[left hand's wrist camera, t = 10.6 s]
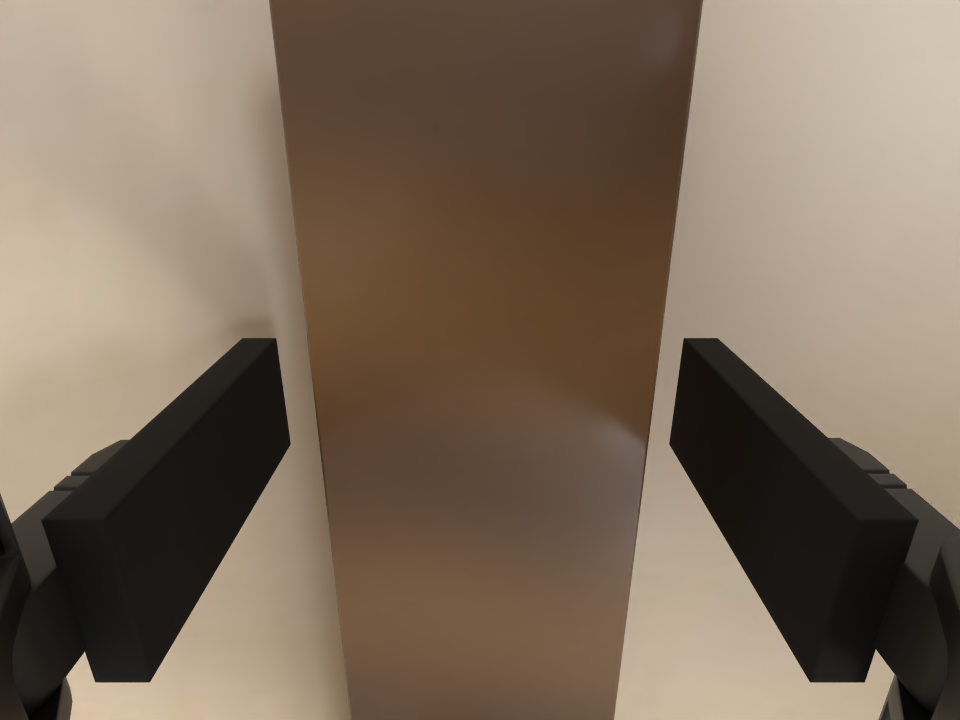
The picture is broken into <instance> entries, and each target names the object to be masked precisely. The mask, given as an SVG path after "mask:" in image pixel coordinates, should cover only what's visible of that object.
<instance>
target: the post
mask: <svg viewBox="0 0 960 720" xmlns="http://www.w3.org/2000/svg"><path fill="white" fill-rule="evenodd" d="M269 4H270V12H271V21H272V30H273V39H274V48H275V56H276V65H277V74H278V83H279V91H280V100H281V109H282V118H283V127H284V135H285V144H286V153H287V162H288V171H289V179H290V188H291V197H292V206H293V214H294V223H295V232H296V241H297V250H298V258H299V267H300V276H301V285H302V293H303V302H304V311H305V320H306V329H307V337H308V346H309V355H310V364H311V373H312V381H313V390H314V399H315V408H316V416H317V425H318V434H319V443H320V452H321V460H322V469H323V478H324V487H325V496H326V504H327V513H328V522H329V531H330V539H331V548H332V557H333V566H334V575H335V583H336V592H337V601H338V610H339V618H340V627H341V636H342V645H343V654H344V662H345V671H346V680H347V689H348V698H349V706H350V715H351V720H614V715H615V707H616V699H617V691H618V682H619V674H620V666H621V658H622V650H623V642H624V634H625V626H626V618H627V610H628V602H629V594H630V586H631V578H632V569H633V561H634V553H635V545H636V537H637V529H638V521H639V513H640V505H641V497H642V489H643V481H644V473H645V465H646V456H647V448H648V440H649V432H650V424H651V416H652V408H653V400H654V392H655V384H656V376H657V368H658V360H659V352H660V343H661V335H662V327H663V319H664V311H665V303H666V295H667V287H668V279H669V271H670V263H671V255H672V247H673V239H674V230H675V222H676V214H677V206H678V198H679V190H680V182H681V174H682V166H683V158H684V150H685V142H686V134H687V126H688V117H689V109H690V101H691V93H692V85H693V77H694V69H695V61H696V53H697V45H698V37H699V29H700V21H701V13H702V4H703V0H269Z"/></svg>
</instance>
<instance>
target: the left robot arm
mask: <svg viewBox="0 0 960 720" xmlns="http://www.w3.org/2000/svg"><path fill="white" fill-rule="evenodd" d="M290 444H291V443H290V436H289V429H288V421H287V414H286V407H285V399H284V392H283V385H282V378H281V370H280V363H279V356H278V348H277V341H276V338H242V339H241V340H240V341H239V342H238V343H237V344H236V345H235V346H233V347H232V348H231V349H230V350H229V351H228V352H227V353H226V354H225V355H223V356H222V357H221V358H220V359H219V360H218V361H217V362H216V363H215V364H213V365H212V366H211V367H210V368H209V369H208V370H207V371H206V372H205V373H204V374H202V375H201V376H200V377H199V378H198V379H197V380H196V381H195V382H194V383H192V384H191V385H190V386H189V387H188V388H187V389H186V390H185V391H184V392H182V393H181V394H180V395H179V396H178V397H177V398H176V399H175V400H174V401H173V402H171V403H170V404H169V405H168V406H167V407H166V408H165V409H164V410H163V411H161V412H160V413H159V414H158V415H157V416H156V417H155V418H154V419H153V420H151V421H150V422H149V423H148V424H147V425H146V426H145V427H144V428H143V429H141V430H140V431H139V432H138V433H137V434H136V435H135V436H134V437H133V438H132V439H130V440H120V441H118V442H116V443H114V444H112V445H110V446H108V447H106V448H104V449H102V450H100V451H98V452H97V453H95V454H93V455H91V456H90V457H89V458H88V459H86V460H85V461H84V462H83V463H82V464H81V465H79V466H78V467H77V468H76V469H75V470H74V471H72V472H71V476H67V477H65V478H64V479H63V480H62V481H61V482H60V483H58V484H57V485H56V486H55V487H54V491H49V492H48V493H47V494H45V495H44V496H43V497H42V498H41V499H40V500H38V501H37V502H36V503H35V504H34V505H33V506H31V507H30V508H29V509H28V510H27V511H26V512H24V513H23V514H22V515H21V516H20V517H18V518H17V519H16V520H15V521H14V522H13V523H11V522H10V519H9V517H8V514H7V511H6V508H5V505H4V503H3V500H2V497H1V494H0V720H70V715H71V707H72V696H71V690H70V687H69V684H68V681H67V678H66V676H67V674H68V673H69V672H70V670H71V669H72V668H73V666H74V665H75V664H76V662H77V661H78V660H79V658H80V657H81V656H82V654H83V653H84V652H85V653H86V656H87V659H88V662H89V665H90V668H91V671H92V674H93V677H94V680H95V682H150V681H151V679H152V678H153V676H154V674H155V673H156V671H157V669H158V668H159V666H160V664H161V663H162V661H163V659H164V657H165V656H166V654H167V652H168V651H169V649H170V647H171V646H172V644H173V642H174V641H175V639H176V637H177V636H178V634H179V632H180V630H181V629H182V627H183V625H184V624H185V622H186V620H187V619H188V617H189V615H190V614H191V612H192V610H193V608H194V607H195V605H196V603H197V602H198V600H199V598H200V597H201V595H202V593H203V592H204V590H205V588H206V586H207V585H208V583H209V581H210V580H211V578H212V576H213V575H214V573H215V571H216V570H217V568H218V566H219V564H220V563H221V561H222V559H223V558H224V556H225V554H226V553H227V551H228V549H229V548H230V546H231V544H232V542H233V541H234V539H235V537H236V536H237V534H238V532H239V531H240V529H241V527H242V526H243V524H244V522H245V520H246V519H247V517H248V515H249V514H250V512H251V510H252V509H253V507H254V505H255V504H256V502H257V500H258V499H259V497H260V495H261V493H262V492H263V490H264V488H265V487H266V485H267V483H268V482H269V480H270V478H271V477H272V475H273V473H274V471H275V470H276V468H277V466H278V465H279V463H280V461H281V460H282V458H283V456H284V455H285V453H286V451H287V449H288V448H289V446H290ZM669 444H670V446H671V448H672V449H673V451H674V453H675V455H676V456H677V458H678V460H679V461H680V463H681V465H682V466H683V468H684V470H685V471H686V473H687V475H688V477H689V478H690V480H691V482H692V483H693V485H694V487H695V488H696V490H697V492H698V493H699V495H700V497H701V499H702V500H703V502H704V504H705V505H706V507H707V509H708V510H709V512H710V514H711V515H712V517H713V519H714V521H715V522H716V524H717V526H718V527H719V529H720V531H721V532H722V534H723V536H724V537H725V539H726V541H727V542H728V544H729V546H730V548H731V549H732V551H733V553H734V554H735V556H736V558H737V559H738V561H739V563H740V564H741V566H742V568H743V570H744V571H745V573H746V575H747V576H748V578H749V580H750V581H751V583H752V585H753V586H754V588H755V590H756V592H757V593H758V595H759V597H760V598H761V600H762V602H763V603H764V605H765V607H766V608H767V610H768V612H769V614H770V615H771V617H772V619H773V620H774V622H775V624H776V625H777V627H778V629H779V630H780V632H781V634H782V636H783V637H784V639H785V641H786V642H787V644H788V646H789V647H790V649H791V651H792V652H793V654H794V656H795V658H796V659H797V661H798V663H799V664H800V666H801V668H802V669H803V671H804V673H805V674H806V676H807V678H808V680H809V681H810V682H865V680H866V677H867V674H868V671H869V668H870V665H871V662H872V659H873V656H874V653H875V650H877V651H878V652H879V654H880V655H881V656H882V658H883V659H884V660H885V662H886V663H887V664H888V666H889V667H890V668H891V670H892V671H893V672H894V674H895V675H894V678H893V681H892V684H891V687H890V689H889V692H888V695H887V698H886V701H885V703H884V706H883V709H882V712H881V714H880V717H879V720H960V530H959V529H958V528H957V527H956V526H955V525H953V524H952V523H951V522H950V521H949V520H948V519H946V518H945V517H944V516H943V515H942V514H940V513H939V512H938V511H937V510H936V509H935V508H933V507H932V506H931V505H930V504H929V503H927V502H926V501H925V500H924V499H923V498H922V497H920V496H919V495H918V494H917V493H916V492H914V491H913V490H912V489H907V485H906V484H905V483H904V482H903V481H901V480H900V479H899V478H898V477H897V476H896V475H894V474H890V473H889V470H888V469H887V468H886V467H885V466H884V465H883V464H881V463H880V462H879V461H878V460H877V459H875V458H874V457H873V456H872V455H871V454H870V453H868V452H866V451H864V450H862V449H860V448H858V447H856V446H854V445H852V444H851V443H849V442H847V441H845V440H843V439H841V438H827V437H826V436H825V435H824V434H823V433H822V432H821V431H820V430H818V429H817V428H816V427H815V426H814V425H813V424H812V423H811V422H810V421H809V420H807V419H806V418H805V417H804V416H803V415H802V414H801V413H800V412H799V411H797V410H796V409H795V408H794V407H793V406H792V405H791V404H790V403H789V402H787V401H786V400H785V399H784V398H783V397H782V396H781V395H780V394H779V393H778V392H776V391H775V390H774V389H773V388H772V387H771V386H770V385H769V384H768V383H766V382H765V381H764V380H763V379H762V378H761V377H760V376H759V375H758V374H756V373H755V372H754V371H753V370H752V369H751V368H750V367H749V366H748V365H746V364H745V363H744V362H743V361H742V360H741V359H740V358H739V357H738V356H737V355H735V354H734V353H733V352H732V351H731V350H730V349H729V348H728V347H727V346H725V345H724V344H723V343H722V342H721V341H720V340H719V339H718V338H684V341H683V348H682V355H681V363H680V370H679V377H678V385H677V392H676V399H675V407H674V414H673V421H672V429H671V436H670V443H669Z"/></svg>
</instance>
